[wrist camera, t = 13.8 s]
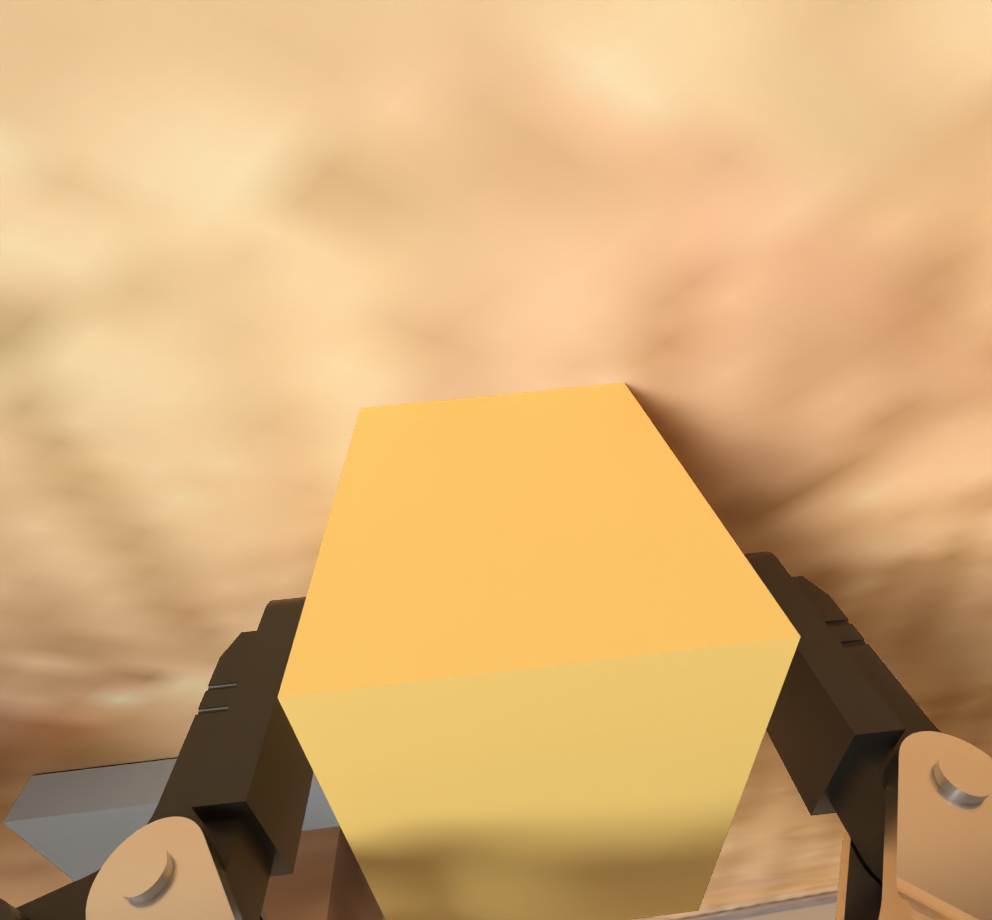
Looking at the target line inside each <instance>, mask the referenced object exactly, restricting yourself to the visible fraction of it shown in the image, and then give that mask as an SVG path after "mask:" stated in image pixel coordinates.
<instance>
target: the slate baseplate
mask: <svg viewBox="0 0 992 920" xmlns="http://www.w3.org/2000/svg"><path fill="white" fill-rule="evenodd" d="M176 760H177V758H176V759H167V760H159V761H151V762H142V763H134V764H126V765H117V766H109V767H101V768H92V769H84V770H76V771H67V772H59V773H51V774H42V775H34V776H31V777H30V779H29V781H28V782H27V784H26V785H25V787H24V789H23V790H22V792H21V793H20V795H19V797H18V798H17V800H16V801H15V803H14V805H13V806H12V808H11V809H10V811H9V813H8V814H7V816H6V817H5V819H4V820H3V822H2V823H4V824H5V825H6V826H7V827H8V828H10V829H11V830H12V831H13V832H15V833H16V834H17V835H18V836H20V837H21V838H22V839H23V840H24V841H26V842H27V843H28V844H29V845H31V846H32V847H33V848H34V849H35V850H37V851H38V852H39V853H40V854H42V855H43V856H44V857H45V858H47V859H48V860H49V861H50V862H51V863H53V864H54V865H55V866H56V867H58V868H59V869H60V870H61V871H62V872H64V873H65V874H66V875H67V876H69V877H70V878H71V879H72V880H74V881H77V880H80V879H82V878H84V877H86V876H88V875H90V874H92V873H94V872H96V871H97V870H99V869H101V867H102V866H103V865H104V863H105V862H106V860H107V859H108V858H109V856H110V855H111V854H112V853H113V852H114V851H115V850H116V848H117V847H118V846H119V845H120V844H122V843H123V842H124V841H125V840H126V839H127V838H128V837H129V836H131V835H132V834H133V833H135V832H136V831H137V830H139V829H141V828H142V827H144V826H146V825H147V823H148V822H149V820H150V818H151V817H152V815H153V813H154V811H155V809H156V807H157V805H158V803H159V800H160V798H161V796H162V793H163V791H164V789H165V786H166V784H167V782H168V779H169V777H170V774H171V772H172V770H173V767H174V765H175V763H176ZM338 826H340V825H339V823H338V821H337V819H336V817H335V815H334V813H333V810H332V808H331V806H330V804H329V802H328V800H327V798H326V796H325V794H324V792H323V790H322V788H321V786H320V784H319V782H318V780H317V778H316V776H315V774H314V773H313V778H312V783H311V788H310V793H309V798H308V802H307V807H306V812H305V817H304V822H303V827H302V831H306V830H314V829H322V828H330V827H338ZM383 920H386V919H385V917H384V915H383Z"/></svg>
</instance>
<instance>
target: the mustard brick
mask: <svg viewBox="0 0 992 920" xmlns="http://www.w3.org/2000/svg"><path fill="white" fill-rule="evenodd" d="M800 637H801V636H800V635H799V634H798V632H797V631H796V629H795V628H794V626H793V625H792V623H791V622H790V621H789V619H788V618H787V616H786V615H785V613H784V612H783V610H782V609H781V608H780V606H779V605H778V603H777V602H776V600H775V599H774V598H773V596H772V595H771V593H770V592H769V590H768V589H767V587H766V586H765V585H764V583H763V582H762V580H761V579H760V577H759V576H758V574H757V573H756V572H755V570H754V569H753V567H752V566H751V564H750V563H749V561H748V560H747V559H746V557H745V556H744V554H743V553H742V551H741V550H740V549H739V547H738V546H737V544H736V543H735V541H734V540H733V538H732V537H731V536H730V534H729V533H728V531H727V530H726V528H725V527H724V525H723V524H722V523H721V521H720V520H719V518H718V517H717V515H716V514H715V513H714V511H713V510H712V508H711V507H710V505H709V504H708V502H707V501H706V500H705V498H704V497H703V495H702V494H701V492H700V491H699V489H698V488H697V487H696V485H695V484H694V482H693V481H692V479H691V478H690V476H689V475H688V474H687V472H686V471H685V469H684V468H683V466H682V465H681V464H680V462H679V461H678V459H677V458H676V456H675V455H674V453H673V452H672V451H671V449H670V448H669V446H668V445H667V443H666V442H665V440H664V439H663V438H662V436H661V435H660V433H659V432H658V430H657V429H656V427H655V426H654V425H653V423H652V422H651V420H650V419H649V417H648V416H647V415H646V413H645V412H644V410H643V409H642V407H641V406H640V404H639V403H638V402H637V400H636V399H635V397H634V396H633V394H632V393H631V391H630V390H629V389H628V387H627V386H626V384H625V383H614V384H604V385H594V386H583V387H573V388H563V389H553V390H543V391H532V392H522V393H512V394H502V395H492V396H481V397H471V398H461V399H451V400H441V401H430V402H420V403H410V404H400V405H390V406H379V407H369V408H360V411H359V415H358V418H357V422H356V425H355V429H354V432H353V436H352V439H351V443H350V446H349V450H348V453H347V457H346V460H345V464H344V467H343V471H342V474H341V478H340V481H339V485H338V488H337V491H336V495H335V498H334V502H333V505H332V509H331V512H330V516H329V519H328V523H327V526H326V530H325V533H324V537H323V540H322V544H321V547H320V551H319V554H318V558H317V561H316V565H315V568H314V572H313V575H312V579H311V582H310V586H309V589H308V593H307V596H306V600H305V603H304V607H303V610H302V614H301V617H300V621H299V624H298V628H297V631H296V635H295V638H294V642H293V645H292V649H291V652H290V656H289V659H288V663H287V666H286V670H285V673H284V677H283V680H282V684H281V687H280V691H279V694H278V700H279V702H280V704H281V706H282V708H283V710H284V712H285V714H286V716H287V718H288V720H289V722H290V724H291V726H292V728H293V730H294V732H295V734H296V737H297V739H298V741H299V743H300V745H301V747H302V749H303V751H304V753H305V755H306V757H307V759H308V761H309V763H310V765H311V767H312V769H313V771H314V774H315V776H316V778H317V780H318V782H319V784H320V786H321V788H322V790H323V792H324V794H325V796H326V798H327V800H328V802H329V804H330V806H331V808H332V810H333V813H334V815H335V817H336V819H337V821H338V823H339V825H340V827H341V829H342V831H343V833H344V835H345V837H346V839H347V841H348V843H349V845H350V847H351V849H352V852H353V854H354V856H355V858H356V860H357V862H358V864H359V866H360V868H361V870H362V872H363V874H364V876H365V878H366V880H367V882H368V884H369V886H370V888H371V891H372V893H373V895H374V897H375V899H376V901H377V903H378V905H379V907H380V909H381V911H382V913H383V915H384V917H385V919H386V920H631V919H639V918H646V917H654V916H661V915H669V914H676V913H684V912H691V911H698V910H699V908H700V905H701V902H702V900H703V897H704V894H705V892H706V889H707V886H708V884H709V881H710V878H711V876H712V873H713V870H714V868H715V865H716V862H717V860H718V857H719V854H720V852H721V849H722V846H723V844H724V841H725V838H726V836H727V833H728V830H729V827H730V825H731V822H732V819H733V817H734V814H735V811H736V809H737V806H738V803H739V801H740V798H741V795H742V793H743V790H744V787H745V785H746V782H747V779H748V777H749V774H750V771H751V769H752V766H753V763H754V761H755V758H756V755H757V753H758V750H759V747H760V745H761V742H762V739H763V736H764V734H765V731H766V728H767V726H768V723H769V720H770V718H771V715H772V712H773V710H774V707H775V704H776V702H777V699H778V696H779V694H780V691H781V688H782V686H783V683H784V680H785V678H786V675H787V672H788V670H789V667H790V664H791V662H792V659H793V656H794V654H795V651H796V648H797V645H798V643H799V640H800Z"/></svg>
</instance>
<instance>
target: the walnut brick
mask: <svg viewBox="0 0 992 920" xmlns="http://www.w3.org/2000/svg"><path fill="white" fill-rule="evenodd" d="M262 909H263V911H264V913H265V915H266V918H267V920H383V913H382V911H381V909H380V907H379V905H378V903H377V901H376V899H375V897H374V895H373V893H372V891H371V888H370V886H369V884H368V882H367V880H366V878H365V876H364V874H363V872H362V870H361V868H360V866H359V864H358V862H357V860H356V858H355V856H354V854H353V852H352V849H351V847H350V845H349V843H348V841H347V839H346V837H345V835H344V833H343V831H342V829H341V827H340V826H338V827H330V828H322V829H314V830H306V831H302V832H301V837H300V841H299V846H298V851H297V856H296V861H295V866H294V871H293V874H288V875H280V876H271V877H270V878H269V882H268V886H267V891H266V895H265V899H264V903H263V908H262Z"/></svg>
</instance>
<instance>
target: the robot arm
mask: <svg viewBox="0 0 992 920" xmlns="http://www.w3.org/2000/svg"><path fill="white" fill-rule="evenodd" d="M744 556H745V557H746V559H747V560H748V561H749V563H750V564H751V566H752V567H753V569H754V570H755V572H756V573H757V574H758V576H759V577H760V579H761V580H762V582H763V583H764V585H765V586H766V587H767V589H768V590H769V592H770V593H771V595H772V596H773V598H774V599H775V600H776V602H777V603H778V605H779V606H780V608H781V609H782V610H783V612H784V613H785V615H786V616H787V618H788V619H789V621H790V622H791V623H792V625H793V626H794V628H795V629H796V631H797V632H798V634H799V635H800V636H801V637H800V640H799V643H798V645H797V648H796V651H795V654H794V656H793V659H792V662H791V664H790V667H789V670H788V672H787V675H786V678H785V680H784V683H783V686H782V688H781V691H780V694H779V696H778V699H777V702H776V704H775V707H774V710H773V712H772V715H771V718H770V720H769V723H768V726H767V728H766V731H767V732H768V734H769V736H770V738H771V740H772V742H773V744H774V746H775V748H776V750H777V751H778V753H779V755H780V757H781V759H782V761H783V763H784V765H785V767H786V769H787V771H788V772H789V774H790V776H791V778H792V780H793V782H794V784H795V786H796V788H797V790H798V791H799V793H800V795H801V797H802V799H803V801H804V803H805V805H806V807H807V809H808V811H809V812H810V814H811V816H812V815H820V814H829V813H837V815H838V816H839V818H840V820H841V822H842V824H843V825H844V827H845V829H846V831H845V834H844V836H843V841H842V852H841V862H840V873H839V884H838V895H837V906H836V917H835V920H992V758H991V757H990V756H989V755H987V754H986V753H984V752H983V751H981V750H980V749H978V748H977V747H975V746H973V745H971V744H970V743H968V742H966V741H964V740H961V739H959V738H957V737H954V736H951V735H948V734H945V733H941V732H940V731H939V730H938V729H937V728H936V727H935V726H934V725H933V723H932V722H931V721H930V720H929V719H928V718H927V716H926V715H925V714H924V713H923V711H922V710H921V709H920V708H919V706H918V705H917V704H916V703H915V702H914V700H913V699H912V698H911V697H910V695H909V694H908V693H907V692H906V690H905V689H904V688H903V687H902V685H901V684H900V683H899V682H898V680H897V679H896V678H895V677H894V675H893V674H892V673H891V672H890V671H889V669H888V668H887V667H886V666H885V664H884V663H883V662H882V661H881V659H880V658H879V657H878V656H877V654H876V653H875V652H874V651H873V649H872V648H871V647H870V646H869V644H865V642H864V638H863V637H862V636H861V635H860V633H859V632H858V631H857V630H856V628H855V627H854V626H853V625H852V624H849V623H848V618H847V617H846V616H845V615H844V614H843V612H842V611H841V610H840V609H839V607H838V606H837V605H836V604H835V602H834V601H833V600H832V599H831V597H830V596H829V595H828V594H826V593H825V592H823V591H822V590H821V589H819V588H818V587H816V586H815V585H814V584H812V583H811V582H809V581H808V580H807V579H805V578H804V577H802V576H799V577H791V576H790V575H789V574H788V573H787V571H786V570H785V569H784V567H783V566H782V565H781V563H780V562H779V561H778V559H777V558H776V557H775V556H774V555H773V554H772V553H770V552H759V553H750V554H744ZM305 600H306V597H302V598H292V599H282V600H273V601H270V602H269V603H268V604H267V606H266V608H265V611H264V613H263V616H262V619H261V621H260V624H259V627H258V629H257V631H251V632H242V633H241V634H240V635H239V636H238V637H237V638H236V640H235V641H234V642H233V643H232V644H231V645H230V646H229V648H228V649H227V650H226V651H225V652H224V653H223V655H222V656H221V657H220V659H219V661H218V664H217V666H216V668H215V671H214V673H213V675H212V678H211V680H210V682H209V685H208V686H209V689H208V691H206V692H205V694H204V697H203V699H202V701H201V704H200V706H199V708H198V709H199V713H198V715H195V718H194V720H193V723H192V725H191V727H190V730H189V732H188V734H187V737H186V739H185V741H184V744H183V746H182V749H181V751H180V753H179V756H178V758H177V760H176V763H175V765H174V767H173V770H172V772H171V774H170V777H169V779H168V782H167V784H166V786H165V789H164V791H163V793H162V796H161V798H160V800H159V803H158V805H157V807H156V809H155V811H154V813H153V815H152V817H151V818H150V820H149V822H148V823H147V825H146V826H144V827H142V828H141V829H139V830H137V831H136V832H135V833H133V834H132V835H131V836H129V837H128V838H127V839H126V840H125V841H124V842H123V843H122V844H120V845H119V846H118V847H117V848H116V850H115V851H114V852H113V853H112V854H111V855H110V856H109V858H108V859H107V860H106V862H105V863H104V865H103V866H102V867H101V869H99V870H97V871H96V872H94V873H92V874H90V875H88V876H86V877H84V878H82V879H80V880H77V881H75V882H73V883H71V884H68V885H66V886H64V887H62V888H60V889H57V890H55V891H53V892H51V893H49V894H46V895H44V896H42V897H40V898H37V899H35V900H33V901H31V902H29V903H26V904H24V905H22V906H20V907H17V908H14V907H13V906H11V905H10V904H8V903H7V902H5V901H4V900H2V899H0V920H267V918H266V915H265V913H264V911H263V909H262V908H263V903H264V899H265V895H266V891H267V886H268V882H269V878H270V877H271V876H280V875H288V874H293V871H294V866H295V861H296V856H297V851H298V846H299V841H300V837H301V832H302V827H303V822H304V817H305V812H306V807H307V802H308V798H309V793H310V788H311V783H312V778H313V773H314V771H313V769H312V767H311V765H310V763H309V761H308V759H307V757H306V755H305V753H304V751H303V749H302V747H301V745H300V743H299V741H298V739H297V737H296V734H295V732H294V730H293V728H292V726H291V724H290V722H289V720H288V718H287V716H286V714H285V712H284V710H283V708H282V706H281V704H280V702H279V700H278V694H279V691H280V687H281V684H282V680H283V677H284V673H285V670H286V666H287V663H288V659H289V656H290V652H291V649H292V645H293V642H294V638H295V635H296V631H297V628H298V624H299V621H300V617H301V614H302V610H303V607H304V603H305Z"/></svg>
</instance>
